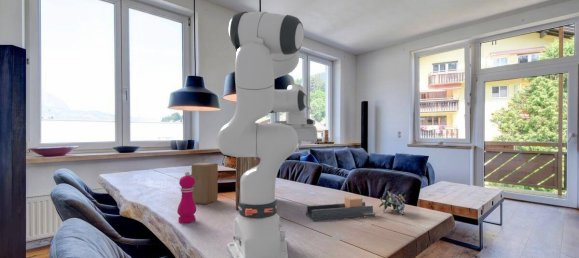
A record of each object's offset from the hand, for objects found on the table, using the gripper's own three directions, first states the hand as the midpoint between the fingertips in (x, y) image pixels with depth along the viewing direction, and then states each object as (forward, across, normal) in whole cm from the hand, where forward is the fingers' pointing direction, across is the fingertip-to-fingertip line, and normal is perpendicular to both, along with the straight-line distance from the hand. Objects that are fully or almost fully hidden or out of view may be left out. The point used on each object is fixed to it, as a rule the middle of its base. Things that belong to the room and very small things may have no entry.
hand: (295, 151), depth 119 cm
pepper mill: (+28, -46, -1) cm, 54 cm away
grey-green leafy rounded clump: (+28, +43, -10) cm, 52 cm away
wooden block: (+28, -41, +29) cm, 58 cm away
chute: (+28, +18, -8) cm, 34 cm away
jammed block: (+26, +25, -8) cm, 37 cm away
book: (+28, -16, +20) cm, 38 cm away
